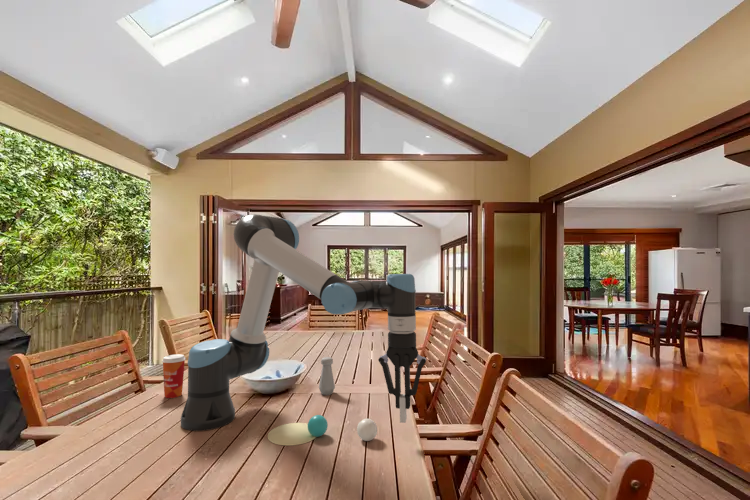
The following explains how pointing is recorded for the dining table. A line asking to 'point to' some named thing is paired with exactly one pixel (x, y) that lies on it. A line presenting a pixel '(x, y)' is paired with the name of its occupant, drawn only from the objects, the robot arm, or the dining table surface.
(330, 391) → the salt shaker
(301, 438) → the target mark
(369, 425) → the cue ball
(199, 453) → the dining table surface
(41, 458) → the dining table surface
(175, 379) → the paper cup
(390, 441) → the dining table surface
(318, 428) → the teal ball
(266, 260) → the robot arm
